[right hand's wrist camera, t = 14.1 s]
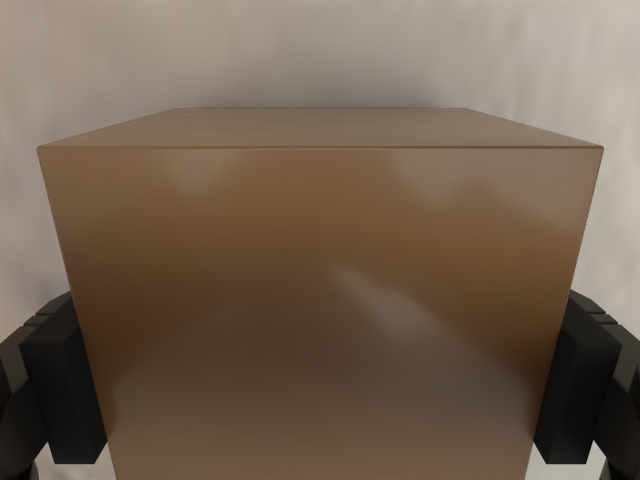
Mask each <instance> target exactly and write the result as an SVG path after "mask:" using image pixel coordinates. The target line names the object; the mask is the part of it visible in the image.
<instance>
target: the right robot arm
mask: <svg viewBox="0 0 640 480" xmlns="http://www.w3.org/2000/svg"><path fill="white" fill-rule="evenodd" d="M35 314H36V315H35V316H32V317H31V318H30V319H28V320H27V321H26V322H25V323H24V325H23V326H20V327H19V328H18V329H17V330H16V331H14V332H13V333H12V334H11V335H10V336H9V337H8V338H6V339H5V340H4V341H3V342H2V343H1V344H0V480H39V475H38V469H37V466H36V463H35V460H34V459H35V458H36V457H37V455H38V454H39V453H40V451H41V450H42V448H43V447H44V446H45V444H46V443H47V442H48V444H49V447H50V450H51V453H52V457H53V460H54V463H55V464H95V462H96V460H97V459H98V457H99V455H100V453H101V452H102V450H103V448H104V446H105V445H106V443H107V437H106V433H105V429H104V425H103V420H102V416H101V412H100V408H99V404H98V400H97V396H96V391H95V387H94V383H93V379H92V375H91V371H90V367H89V362H88V358H87V354H86V350H85V346H84V342H83V338H82V333H81V329H80V326H79V322H78V318H77V314H76V310H75V306H74V302H73V297H72V293H71V291H69V292H67V293H65V294H63V295H61V296H59V297H57V298H55V299H53V300H51V301H49V302H48V303H47V304H46V305H45V306H44V307H42V308H41V309H40V310H39V311H38V312H37V313H35ZM593 440H594V441H595V442H596V444H597V445H598V447H599V448H600V449H601V451H602V452H603V453H604V455H605V456H606V460H605V463H604V466H603V469H602V472H601V475H600V478H599V480H640V341H639V340H638V339H637V338H636V337H635V336H633V335H632V334H631V333H630V332H629V331H627V330H626V329H625V328H624V327H623V326H622V325H618V322H617V321H616V320H615V319H613V318H612V317H611V316H610V315H609V314H606V312H605V311H604V310H603V309H602V308H601V307H599V306H598V305H597V304H596V303H595V302H594V301H592V300H591V299H589V298H587V297H585V296H583V295H581V294H579V293H577V292H575V291H573V290H571V289H570V292H569V296H568V300H567V305H566V309H565V313H564V317H563V321H562V325H561V329H560V334H559V338H558V342H557V346H556V350H555V354H554V359H553V363H552V367H551V371H550V375H549V379H548V383H547V388H546V392H545V396H544V400H543V404H542V408H541V412H540V417H539V421H538V425H537V429H536V433H535V437H534V443H535V445H536V447H537V449H538V450H539V452H540V454H541V456H542V457H543V459H544V461H545V463H546V464H586V462H587V459H588V456H589V452H590V449H591V446H592V443H593Z"/></svg>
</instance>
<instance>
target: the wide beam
mask: <svg viewBox="0 0 640 480" xmlns="http://www.w3.org/2000/svg"><path fill="white" fill-rule="evenodd" d="M603 151H604V147H603V146H601V145H597V144H594V143H590V142H586V141H583V140H579V139H575V138H572V137H568V136H564V135H561V134H557V133H554V132H550V131H546V130H543V129H539V128H535V127H532V126H528V125H524V124H521V123H517V122H514V121H510V120H506V119H503V118H499V117H495V116H492V115H488V114H484V113H481V112H477V111H474V110H470V109H466V108H230V109H172V110H168V111H165V112H161V113H158V114H154V115H150V116H147V117H143V118H139V119H136V120H132V121H128V122H125V123H121V124H117V125H114V126H110V127H106V128H103V129H99V130H95V131H92V132H88V133H85V134H81V135H77V136H74V137H70V138H66V139H63V140H59V141H55V142H52V143H48V144H44V145H41V146H38V147H37V153H38V157H39V161H40V165H41V170H42V174H43V178H44V182H45V186H46V190H47V194H48V198H49V203H50V207H51V211H52V215H53V219H54V223H55V227H56V231H57V236H58V240H59V244H60V248H61V252H62V256H63V260H64V264H65V269H66V273H67V277H68V281H69V285H70V289H71V293H72V297H73V302H74V306H75V310H76V314H77V318H78V322H79V326H80V329H81V333H82V338H83V342H84V346H85V350H86V354H87V358H88V362H89V367H90V371H91V375H92V379H93V383H94V387H95V391H96V396H97V400H98V404H99V408H100V412H101V416H102V420H103V425H104V429H105V433H106V437H107V442H108V446H109V450H110V454H111V458H112V462H113V467H114V471H115V475H116V479H117V480H524V479H525V475H526V471H527V466H528V462H529V458H530V454H531V450H532V446H533V442H534V437H535V433H536V429H537V425H538V421H539V417H540V412H541V408H542V404H543V400H544V396H545V392H546V388H547V383H548V379H549V375H550V371H551V367H552V363H553V359H554V354H555V350H556V346H557V342H558V338H559V334H560V329H561V325H562V321H563V317H564V313H565V309H566V305H567V300H568V296H569V292H570V288H571V284H572V280H573V276H574V271H575V267H576V263H577V259H578V255H579V251H580V247H581V242H582V238H583V234H584V230H585V226H586V222H587V217H588V213H589V209H590V205H591V201H592V197H593V193H594V188H595V184H596V180H597V176H598V172H599V168H600V164H601V159H602V155H603Z"/></svg>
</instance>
